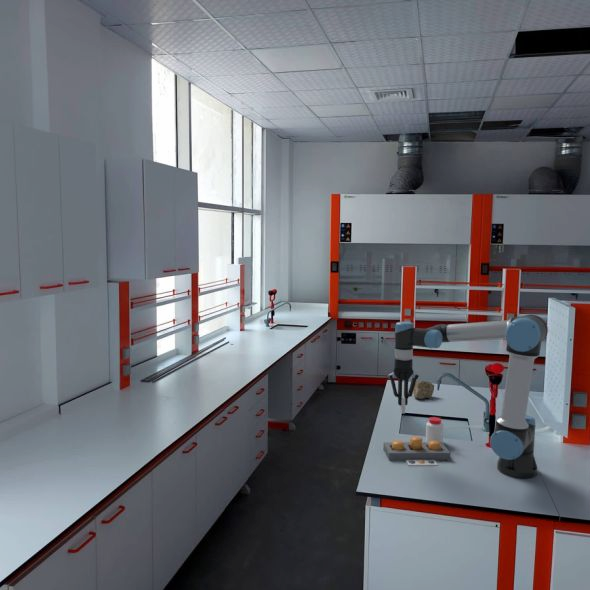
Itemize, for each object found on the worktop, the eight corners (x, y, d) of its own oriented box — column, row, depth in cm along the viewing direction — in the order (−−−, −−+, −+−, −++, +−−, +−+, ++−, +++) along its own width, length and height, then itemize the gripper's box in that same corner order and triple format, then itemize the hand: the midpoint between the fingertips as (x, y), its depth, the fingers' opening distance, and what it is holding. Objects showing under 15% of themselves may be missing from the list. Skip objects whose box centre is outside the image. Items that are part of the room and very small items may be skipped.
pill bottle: (430, 437, 260) (431, 415, 259) (445, 441, 255) (446, 418, 254) (422, 442, 254) (423, 419, 253) (438, 446, 249) (439, 423, 248)
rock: (410, 384, 332) (415, 379, 323) (431, 385, 332) (436, 380, 323) (411, 402, 327) (416, 397, 318) (432, 403, 328) (437, 399, 319)
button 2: (438, 450, 243) (438, 440, 243) (441, 454, 238) (442, 444, 238) (426, 450, 243) (427, 440, 243) (430, 455, 238) (430, 444, 238)
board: (441, 448, 247) (441, 442, 247) (449, 459, 235) (450, 452, 235) (383, 449, 246) (383, 442, 246) (388, 459, 234) (388, 453, 234)
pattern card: (434, 460, 234) (434, 459, 234) (437, 465, 229) (437, 464, 229) (405, 460, 233) (405, 459, 233) (408, 465, 228) (408, 464, 228)
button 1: (402, 450, 243) (402, 440, 242) (404, 455, 238) (404, 444, 237) (390, 450, 243) (390, 440, 242) (393, 455, 238) (393, 444, 237)
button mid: (420, 446, 243) (420, 436, 242) (423, 450, 238) (423, 440, 237) (408, 446, 243) (409, 436, 242) (411, 450, 238) (412, 440, 237)
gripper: (416, 356, 240) (415, 409, 242) (386, 356, 239) (385, 409, 242) (421, 360, 232) (419, 415, 235) (390, 360, 232) (389, 415, 234)
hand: (402, 412), depth 238 cm, fingers closed
